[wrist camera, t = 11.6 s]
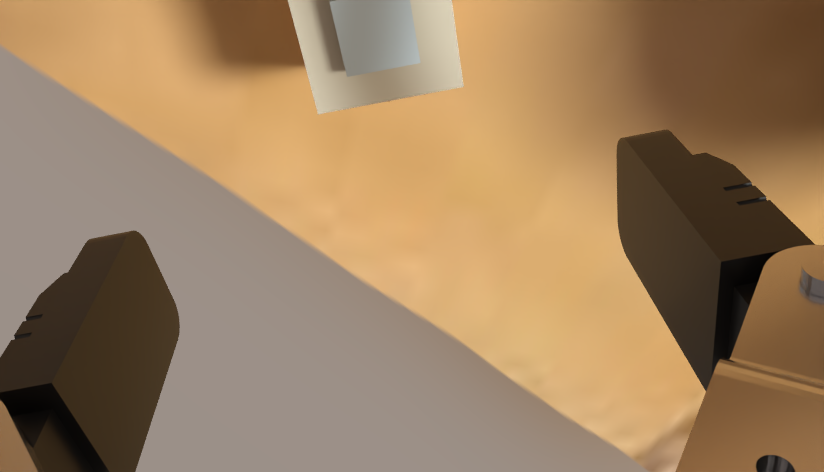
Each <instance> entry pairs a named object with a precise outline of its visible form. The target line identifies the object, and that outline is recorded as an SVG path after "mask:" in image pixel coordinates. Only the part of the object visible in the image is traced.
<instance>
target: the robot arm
mask: <svg viewBox="0 0 824 472" xmlns="http://www.w3.org/2000/svg"><path fill="white" fill-rule="evenodd" d="M617 209H618V228H619V234H620V239H621V243H622V246H623V249H624V251H625V254H626V256H627V258H628V259H629V261H630V263H631V265H632V266H633V268H634V270H635V271H636V273H637V275H638V277H639V278H640V280H641V282H642V283H643V285H644V287H645V288H646V290H647V292H648V294H649V295H650V297H651V299H652V300H653V302H654V304H655V305H656V307H657V309H658V311H659V312H660V314H661V316H662V317H663V319H664V321H665V322H666V324H667V326H668V328H669V329H670V331H671V333H672V334H673V336H674V338H675V339H676V341H677V343H678V345H679V346H680V348H681V350H682V351H683V353H684V355H685V356H686V358H687V360H688V362H689V363H690V365H691V367H692V368H693V370H694V372H695V373H696V375H697V377H698V379H699V380H700V382H701V384H702V385H703V387H704V389H705V390H706V393H705V396H704V399H703V401H702V404H701V407H700V409H699V412H698V414H697V417H696V420H695V422H694V425H693V427H692V430H691V433H690V435H689V438H688V441H687V443H686V446H685V448H684V451H683V454H682V456H681V459H680V461H679V464H678V467H677V469H676V472H824V245H815V244H814V243H813V242H812V241H811V240H810V239H809V238H808V237H807V236H806V235H805V234H804V233H803V232H802V231H801V230H800V229H799V228H798V227H797V226H796V225H795V224H793V223H792V222H791V221H790V220H789V219H788V218H787V217H786V216H785V215H784V214H783V213H782V212H781V211H780V210H779V209H778V208H777V207H776V206H775V205H774V204H773V203H772V202H771V201H770V200H768V201H767V200H766V196H765V195H764V194H763V193H762V192H761V191H760V190H759V189H758V188H757V187H756V186H752V184H751V181H750V180H749V179H748V178H747V177H746V176H745V175H743V174H742V173H741V172H740V171H739V170H738V169H737V168H736V167H735V166H734V165H733V164H730V163H728V162H726V161H723V160H721V159H719V158H717V157H714V156H712V155H710V154H707V153H702V154H696V155H692V154H691V153H690V152H689V151H688V150H687V149H686V148H685V147H684V146H683V145H682V143H681V142H680V141H679V140H678V139H677V138H676V137H675V136H674V135H673V134H672V133H671V132H670V131H669V130H662V131H657V132H651V133H646V134H641V135H636V136H630V137H625V138H621V139H620V140H619V142H618V145H617ZM179 328H180V327H179V316H178V311H177V307H176V304H175V302H174V299H173V297H172V295H171V293H170V291H169V289H168V287H167V284H166V282H165V280H164V278H163V276H162V274H161V272H160V270H159V267H158V265H157V263H156V261H155V259H154V257H153V255H152V253H151V251H150V249H149V246H148V244H147V242H146V240H145V239H144V237H143V236H142V235H141V234H140V233H139V232H137V231H129V232H124V233H119V234H114V235H108V236H104V237H98V238H93V239H89V240H88V241H87V242H86V243H85V245H84V247H83V248H82V250H81V252H80V253H79V255H78V257H77V259H76V260H75V262H74V264H73V265H72V267H71V269H70V270H69V272H68V273H64V274H63V275H62V276H60V277H59V278H58V279H57V280H56V281H55V282H54V283H53V284H51V286H49V287H48V288H47V289H46V290H45V291H44V292H43V293H41V294H40V295H39V297H38V298H37V300H36V302H35V303H34V305H33V306H32V308H31V310H30V311H29V313H28V315H27V316H26V321H24V322H22V324H21V326H20V327H19V329H18V330H17V332H16V333H15V335H14V336H15V340H11V341H10V343H9V345H8V346H7V348H6V350H5V351H4V353H3V354H2V356H1V357H0V472H135V471H136V468H137V464H138V461H139V458H140V455H141V452H142V449H143V446H144V443H145V440H146V436H147V434H148V431H149V427H150V424H151V421H152V418H153V415H154V412H155V409H156V406H157V403H158V400H159V397H160V393H161V390H162V387H163V384H164V381H165V378H166V374H167V372H168V368H169V366H170V362H171V359H172V356H173V353H174V350H175V347H176V344H177V341H178V337H179Z"/></svg>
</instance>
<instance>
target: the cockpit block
mask: <svg viewBox="0 0 824 472" xmlns="http://www.w3.org/2000/svg"><path fill="white" fill-rule="evenodd" d="M288 3H289V7H290V11H291V14H292V18H293V22H294V26H295V29H296V33H297V37H298V41H299V44H300V48H301V52H302V56H303V59H304V63H305V67H306V71H307V74H308V78H309V82H310V86H311V89H312V93H313V97H314V101H315V104H316V108H317V112H318V114H323V113H328V112H333V111H338V110H344V109H349V108H354V107H360V106H365V105H370V104H375V103H381V102H386V101H391V100H397V99H402V98H407V97H412V96H418V95H423V94H428V93H433V92H439V91H444V90H449V89H455V88H460V87H464V86H463V79H462V71H461V64H460V57H459V50H458V42H457V35H456V28H455V21H454V13H453V6H452V0H288Z"/></svg>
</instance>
